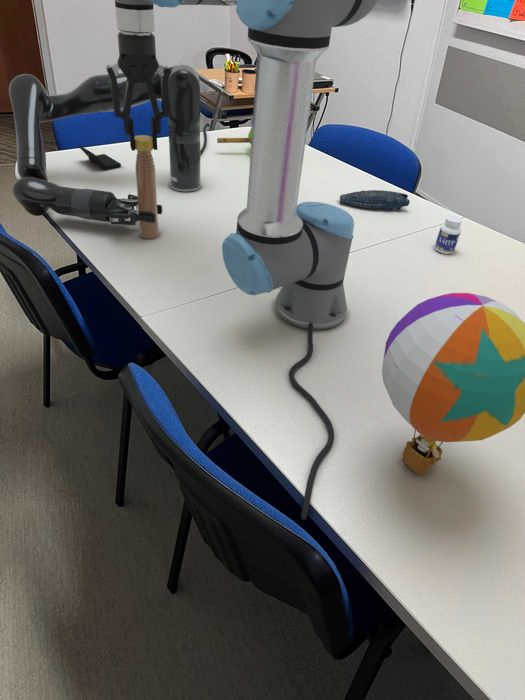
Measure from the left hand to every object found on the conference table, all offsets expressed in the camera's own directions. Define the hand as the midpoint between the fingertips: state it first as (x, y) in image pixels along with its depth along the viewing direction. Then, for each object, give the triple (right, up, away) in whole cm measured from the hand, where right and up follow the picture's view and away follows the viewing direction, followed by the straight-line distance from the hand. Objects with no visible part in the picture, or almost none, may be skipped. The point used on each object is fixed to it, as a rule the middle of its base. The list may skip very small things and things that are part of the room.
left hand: (158, 214), depth 131 cm
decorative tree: (+25, +37, +59) cm, 74 cm away
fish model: (+60, +10, +29) cm, 68 cm away
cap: (-1, +14, -11) cm, 18 cm away
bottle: (-3, -4, +4) cm, 7 cm away
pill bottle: (+75, -7, +10) cm, 76 cm away
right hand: (-1, +13, -10) cm, 16 cm away
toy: (+50, -52, -49) cm, 88 cm away
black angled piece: (-27, +27, +40) cm, 55 cm away
